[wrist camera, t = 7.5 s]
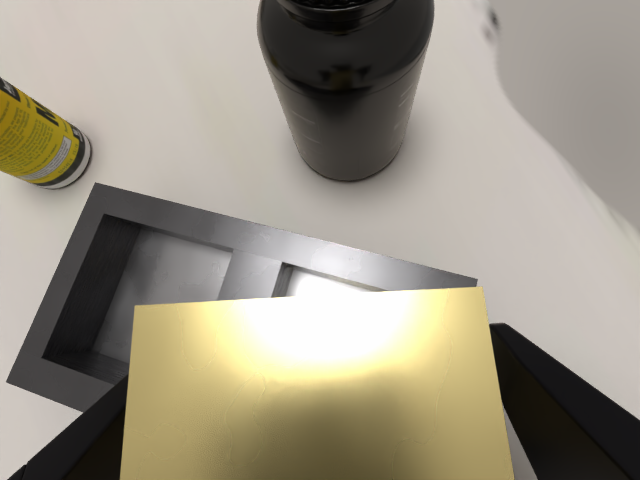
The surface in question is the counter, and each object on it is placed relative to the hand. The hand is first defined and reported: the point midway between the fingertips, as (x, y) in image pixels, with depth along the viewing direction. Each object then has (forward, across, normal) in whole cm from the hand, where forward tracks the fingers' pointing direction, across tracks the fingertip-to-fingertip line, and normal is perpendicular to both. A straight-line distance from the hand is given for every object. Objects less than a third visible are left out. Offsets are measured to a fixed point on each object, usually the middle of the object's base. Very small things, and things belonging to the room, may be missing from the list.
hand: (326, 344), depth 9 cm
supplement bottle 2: (+15, -2, -2) cm, 15 cm away
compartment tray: (+6, +5, +6) cm, 10 cm away
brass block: (+5, 0, +7) cm, 8 cm away
